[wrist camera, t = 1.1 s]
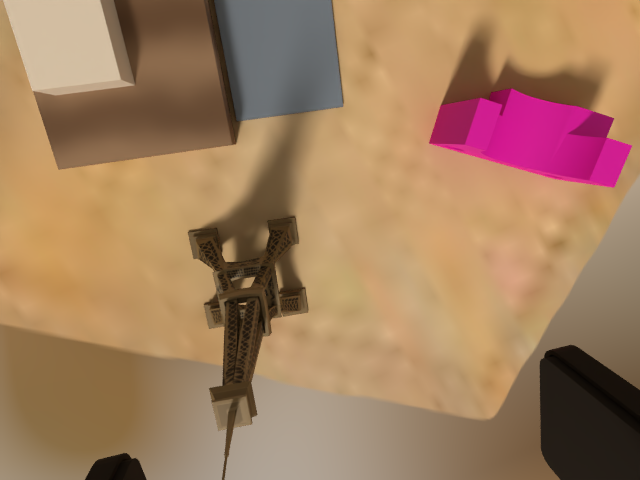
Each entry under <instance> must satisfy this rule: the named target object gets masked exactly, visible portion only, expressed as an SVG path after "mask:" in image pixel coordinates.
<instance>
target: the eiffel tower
mask: <svg viewBox="0 0 640 480" xmlns="http://www.w3.org/2000/svg"><path fill="white" fill-rule="evenodd" d="M268 228H269V234H270V235H269V239H268V242H267V246H266V250H265V254H264V256H263V257H260V258H256V259H252V260H249V261H244V262H225V260H224V258H223V256H222V253H221V248H220V243H219V238H218V233H217V228H214V229H207V230H200V231H193V232H188V235H189V240H190V244H191V249H192V254H193V258H194V259H200V260H201V261H202V262H204V263H205V264H207V265H208V266H209V267H211V268H212V269H213V270H214V272H213V277H214V281H215V285H216V290H217V295H218V300H219V302H215V303H209V304H204V308H205V313H206V317H207V322H208V326H209V329H211V328H217V327H223V326H224V327H225V330H224V357H223V386H219V387H213V388H209V390H210V395H211V399H212V405H213V409H214V414H215V418H216V422H217V427H218V430H225V429H227V434H226V447H225V454H224V455H225V461H224V469H223V477H222V480H224V478H225V470H226V463H227V457H228V455H229V448H230V443H231V438H232V433H233V428H235V427H240V426H246V425H251V424H252V417H254V416H256V415H257V410H256V405H255V400H254V395H253V390H252V385H251V382H252V378H253V374H254V369H255V365H256V361H257V357H258V353H259V349H260V345H261V341H262V337H263V336H270V334H271V333H272V332H271V324H270V321H271V319H272V318H278V317H282V315H283V317H284V316H290V315H296V314H302V313H308V309H307V301H306V294H305V288H303V289H297V290H291V291H284V292H279V290H278V284H277V277H276V271H275V263H276V261H277V260H278V259H279V258H280V257H281V256H282V255H283V254H284V253H285V252H286V251H287V250H288V249H289V248H290V247H291V246H292V245H294V244H299V243H298V236H297V229H296V222H295V217H291V218H284V219H277V220H270V221H268ZM248 277H255V279H254V282H253V284H252V286H251V287H250V288H243V289H237V290H235V289H234V287H233V284H232V281H234V280H236V279H242V278H248ZM265 294H266V295H265ZM244 302H247V303H246V305H239V304H238V303H244ZM281 313H282V315H281Z"/></svg>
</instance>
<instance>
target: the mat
mask: <svg viewBox="0 0 640 480" xmlns="http://www.w3.org/2000/svg"><path fill="white" fill-rule="evenodd" d="M214 3H215V8H216V13H217V19H218V24H219V29H220V35H221V40H222V45H223V50H224V56H225V61H226V66H227V72H228V77H229V82H230V88H231V93H232V98H233V103H234V109H235V114H236V119H237V121H243V120H251V119H258V118H265V117H272V116H280V115H287V114H294V113H301V112H309V111H316V110H323V109H331V108H338V107H343V100H342V91H341V83H340V74H339V65H338V56H337V47H336V38H335V30H334V21H333V12H332V3H331V0H214Z"/></svg>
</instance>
